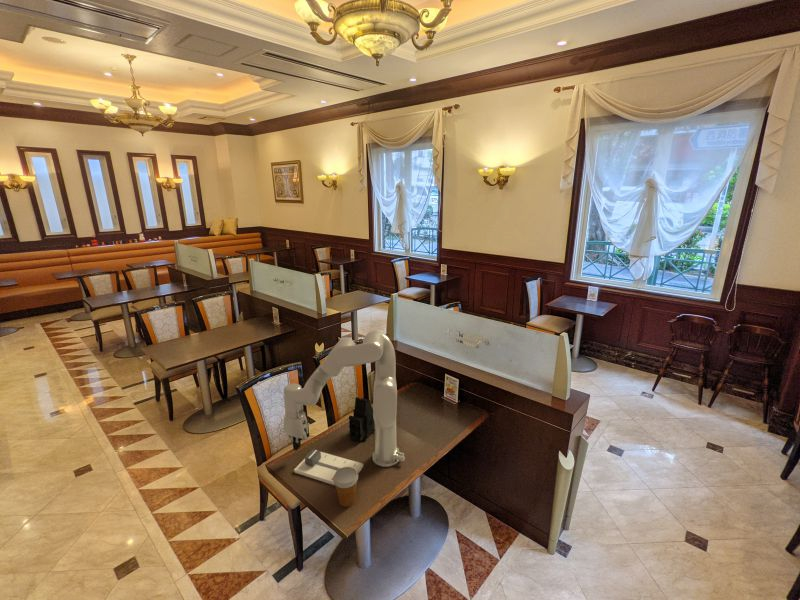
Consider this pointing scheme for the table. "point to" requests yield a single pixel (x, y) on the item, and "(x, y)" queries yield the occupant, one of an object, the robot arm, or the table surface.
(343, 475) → the disposable coffee cup
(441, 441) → the table surface
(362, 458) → the table surface
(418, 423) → the table surface
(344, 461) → the fader console
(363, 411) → the camera
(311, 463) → the fader knob
